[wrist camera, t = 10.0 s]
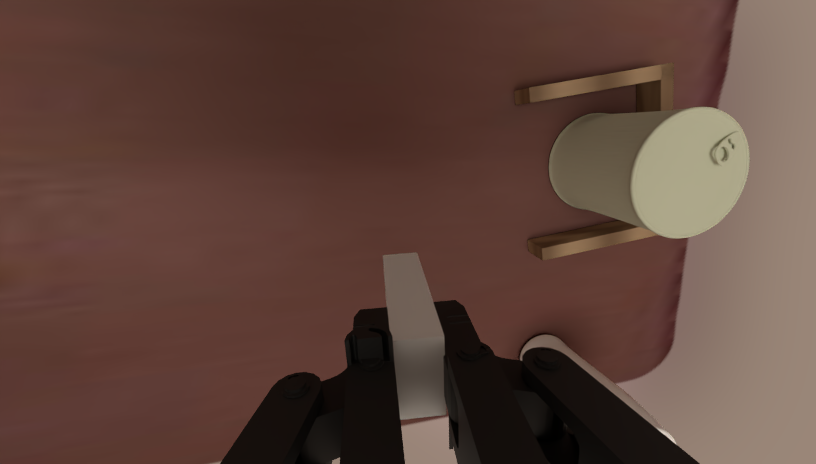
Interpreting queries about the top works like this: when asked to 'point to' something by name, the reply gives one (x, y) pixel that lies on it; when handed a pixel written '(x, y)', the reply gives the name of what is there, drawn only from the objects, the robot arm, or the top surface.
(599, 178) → the can
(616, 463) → the robot arm
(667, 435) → the drinking glass
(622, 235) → the corral
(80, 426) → the top surface
